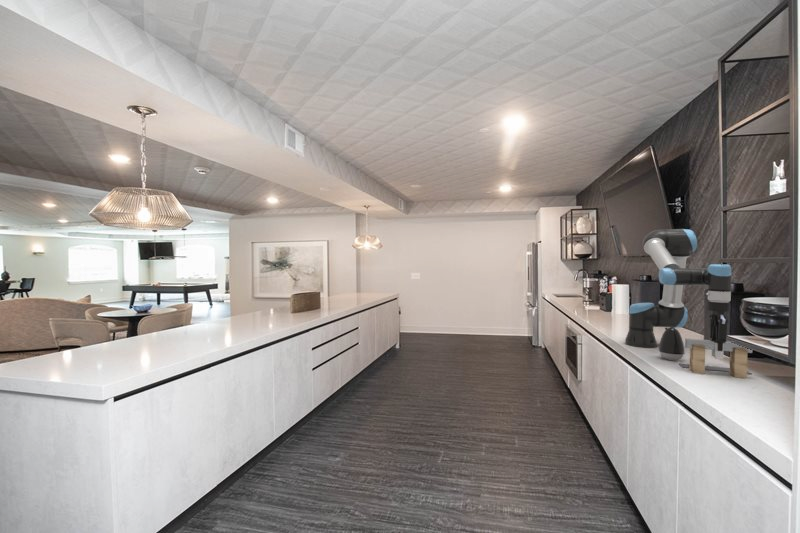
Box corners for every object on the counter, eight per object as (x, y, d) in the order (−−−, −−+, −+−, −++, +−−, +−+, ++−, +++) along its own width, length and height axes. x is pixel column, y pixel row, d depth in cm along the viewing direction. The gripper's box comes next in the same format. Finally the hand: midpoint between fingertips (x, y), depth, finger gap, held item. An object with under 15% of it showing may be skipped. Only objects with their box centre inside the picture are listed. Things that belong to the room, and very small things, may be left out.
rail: (685, 346, 174) (685, 338, 174) (749, 351, 165) (749, 343, 165) (687, 347, 171) (687, 339, 171) (752, 353, 162) (752, 344, 162)
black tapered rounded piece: (676, 357, 197) (676, 326, 197) (689, 362, 187) (690, 329, 186) (654, 356, 198) (654, 325, 198) (665, 361, 188) (666, 329, 187)
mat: (678, 364, 183) (678, 363, 183) (744, 370, 174) (744, 369, 174) (682, 367, 177) (682, 367, 177) (751, 374, 167) (751, 373, 167)
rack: (689, 369, 174) (689, 342, 174) (741, 374, 167) (742, 346, 167) (693, 372, 169) (693, 345, 169) (746, 378, 162) (747, 349, 162)
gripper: (701, 299, 177) (700, 352, 177) (714, 302, 162) (712, 361, 162) (723, 300, 174) (721, 354, 174) (737, 303, 159) (736, 363, 159)
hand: (717, 357), depth 168 cm, fingers closed on rail, 3 cm apart
